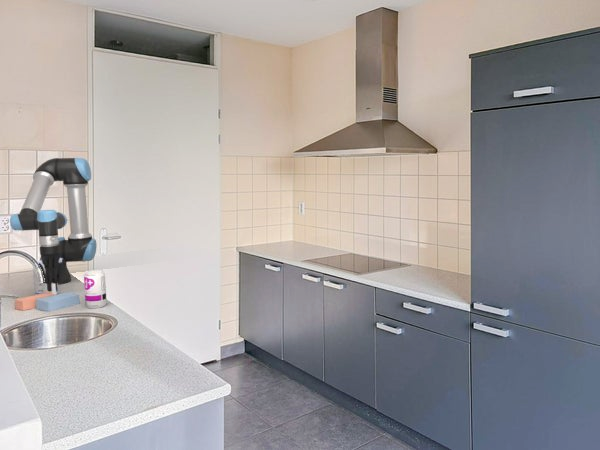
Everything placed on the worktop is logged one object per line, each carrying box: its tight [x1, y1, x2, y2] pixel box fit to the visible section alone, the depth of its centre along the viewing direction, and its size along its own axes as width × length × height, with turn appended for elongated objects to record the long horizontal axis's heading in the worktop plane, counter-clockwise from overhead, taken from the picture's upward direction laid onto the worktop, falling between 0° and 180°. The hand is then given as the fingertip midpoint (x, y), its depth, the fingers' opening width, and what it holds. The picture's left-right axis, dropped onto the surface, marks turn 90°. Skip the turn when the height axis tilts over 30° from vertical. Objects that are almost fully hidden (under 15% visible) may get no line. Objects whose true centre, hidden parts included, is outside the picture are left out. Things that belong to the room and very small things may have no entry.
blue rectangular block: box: [35, 291, 81, 313], centre depth 206 cm, size 14×10×4 cm
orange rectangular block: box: [14, 293, 55, 311], centre depth 207 cm, size 14×6×4 cm, turn 148°
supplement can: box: [83, 269, 108, 309], centre depth 204 cm, size 8×8×15 cm
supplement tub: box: [32, 263, 59, 295], centre depth 225 cm, size 10×10×15 cm
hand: (52, 297), depth 213 cm, fingers closed
